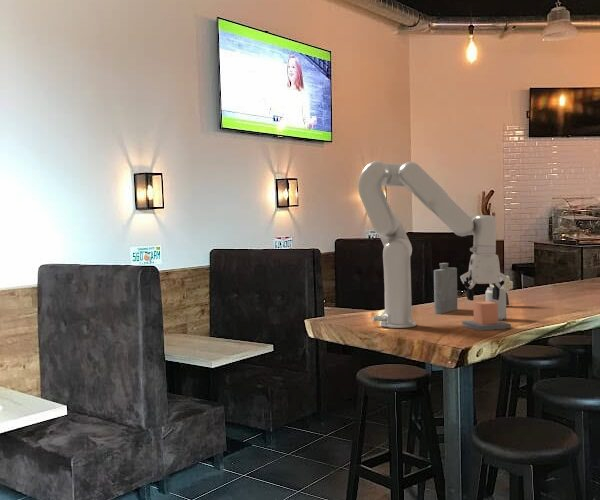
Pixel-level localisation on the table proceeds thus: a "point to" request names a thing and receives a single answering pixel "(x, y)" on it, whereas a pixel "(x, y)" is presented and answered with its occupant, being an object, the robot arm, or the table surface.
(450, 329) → the table surface
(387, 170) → the robot arm
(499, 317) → the can
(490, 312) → the salmon pink cube
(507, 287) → the character mug
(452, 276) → the hip flask
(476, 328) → the post base
